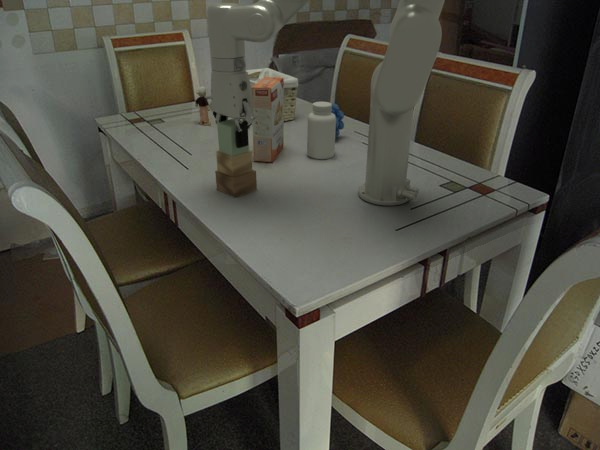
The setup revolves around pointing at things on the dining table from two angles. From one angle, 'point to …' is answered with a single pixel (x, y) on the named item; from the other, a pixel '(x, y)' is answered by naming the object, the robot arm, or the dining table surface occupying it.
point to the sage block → (229, 138)
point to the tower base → (236, 183)
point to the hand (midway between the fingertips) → (233, 142)
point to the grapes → (338, 118)
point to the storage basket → (289, 88)
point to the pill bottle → (321, 131)
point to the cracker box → (268, 118)
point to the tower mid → (234, 163)
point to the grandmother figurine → (203, 105)
